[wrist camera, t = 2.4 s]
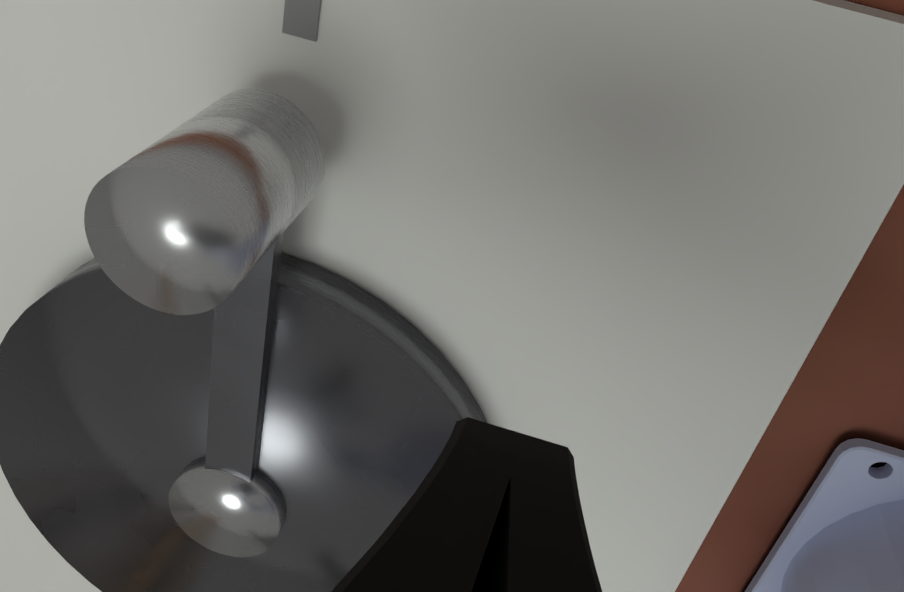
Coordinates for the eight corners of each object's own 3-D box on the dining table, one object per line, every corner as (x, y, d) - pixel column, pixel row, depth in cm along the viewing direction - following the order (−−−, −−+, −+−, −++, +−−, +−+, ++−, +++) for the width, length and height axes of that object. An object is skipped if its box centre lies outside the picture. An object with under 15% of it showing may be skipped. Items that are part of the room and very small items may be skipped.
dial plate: (962, 31, 15) (984, 45, 14) (549, 790, 30) (546, 821, 29) (-323, -303, 16) (-381, -310, 16) (-100, 576, 32) (-123, 599, 31)
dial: (445, 683, 26) (401, 867, 21) (38, 551, 27) (-85, 702, 22) (628, 163, 16) (620, 302, 12) (-22, -17, 17) (-265, 46, 13)
